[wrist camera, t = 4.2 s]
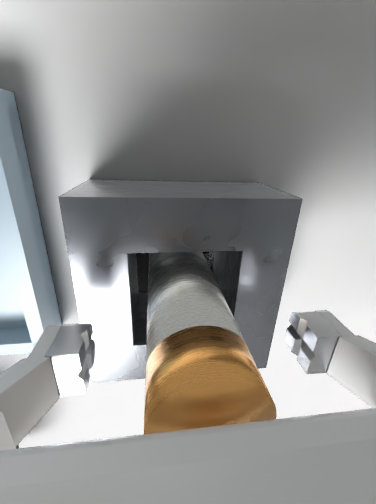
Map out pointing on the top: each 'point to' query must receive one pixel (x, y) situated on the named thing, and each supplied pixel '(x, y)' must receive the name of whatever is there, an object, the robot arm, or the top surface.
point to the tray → (21, 244)
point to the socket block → (174, 240)
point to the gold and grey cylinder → (196, 352)
